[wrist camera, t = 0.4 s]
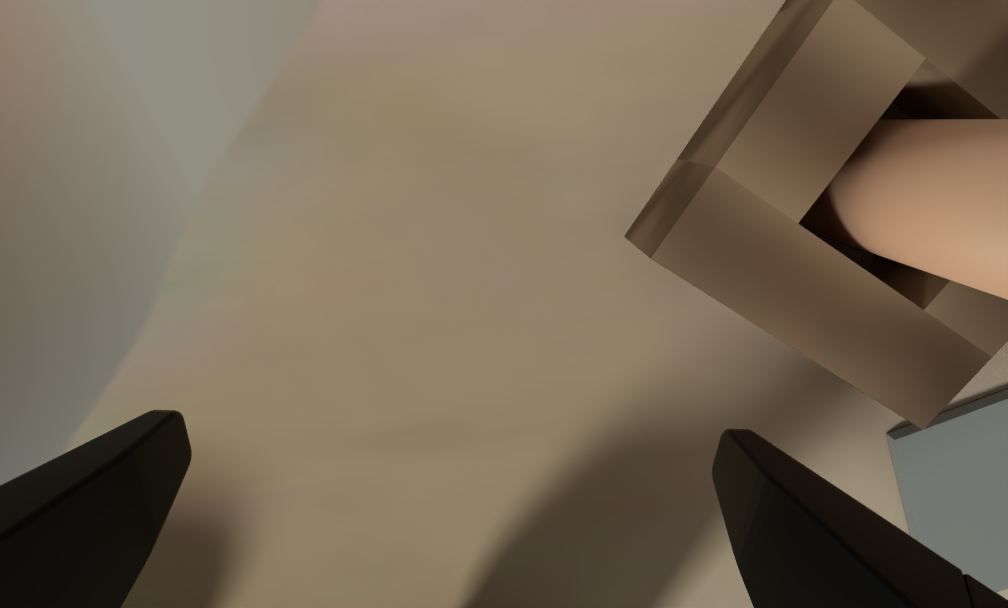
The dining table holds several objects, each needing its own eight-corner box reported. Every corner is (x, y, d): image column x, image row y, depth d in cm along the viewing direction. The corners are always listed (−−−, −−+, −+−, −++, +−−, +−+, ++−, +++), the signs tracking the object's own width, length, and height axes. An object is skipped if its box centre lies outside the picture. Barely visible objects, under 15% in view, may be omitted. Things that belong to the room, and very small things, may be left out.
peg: (901, 235, 24) (1168, 309, 15) (788, 243, 24) (983, 322, 15) (922, 115, 23) (1235, 112, 13) (801, 123, 23) (1028, 125, 13)
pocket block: (860, 385, 27) (923, 430, 23) (624, 236, 24) (650, 258, 20) (1091, 124, 23) (1211, 125, 19) (844, -86, 20) (927, -133, 17)
